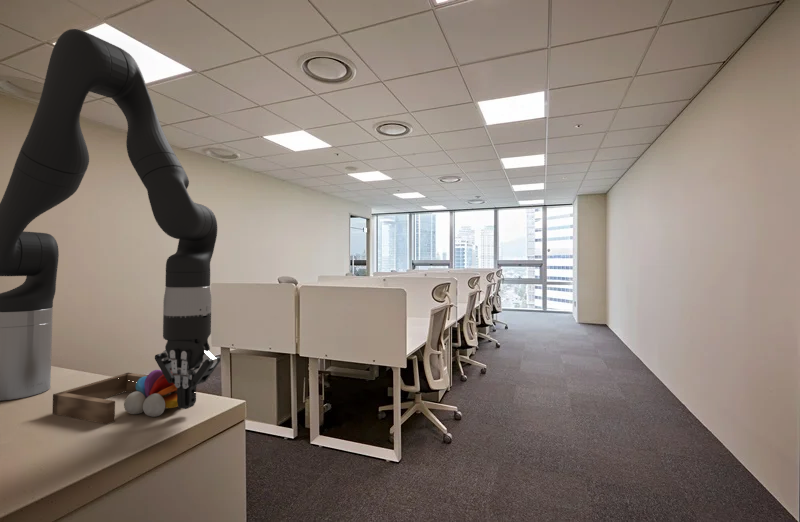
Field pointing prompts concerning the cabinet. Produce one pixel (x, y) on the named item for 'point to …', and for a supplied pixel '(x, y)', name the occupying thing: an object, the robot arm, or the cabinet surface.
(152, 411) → the rainbow disc stack
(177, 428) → the cabinet surface
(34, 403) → the cabinet surface
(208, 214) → the robot arm
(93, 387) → the bay
